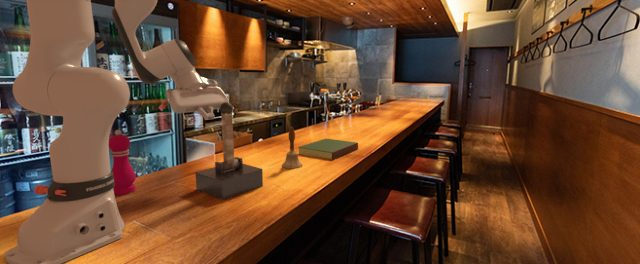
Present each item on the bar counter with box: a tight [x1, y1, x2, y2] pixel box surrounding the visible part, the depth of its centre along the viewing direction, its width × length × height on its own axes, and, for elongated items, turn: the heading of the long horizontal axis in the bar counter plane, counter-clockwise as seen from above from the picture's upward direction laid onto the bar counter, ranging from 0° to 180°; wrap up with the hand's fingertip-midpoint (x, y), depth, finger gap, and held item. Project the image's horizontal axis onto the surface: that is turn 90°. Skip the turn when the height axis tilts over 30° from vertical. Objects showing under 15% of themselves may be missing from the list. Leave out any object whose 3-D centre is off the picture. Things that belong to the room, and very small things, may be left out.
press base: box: [195, 156, 264, 201], centre depth 112 cm, size 14×16×9 cm
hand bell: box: [281, 126, 303, 170], centre depth 138 cm, size 8×8×16 cm
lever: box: [219, 102, 239, 171], centre depth 110 cm, size 4×6×22 cm, turn 142°
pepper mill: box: [109, 129, 137, 196], centre depth 108 cm, size 7×7×20 cm
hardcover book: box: [297, 138, 359, 161], centre depth 164 cm, size 25×19×4 cm
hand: (210, 118), depth 115 cm, fingers closed
